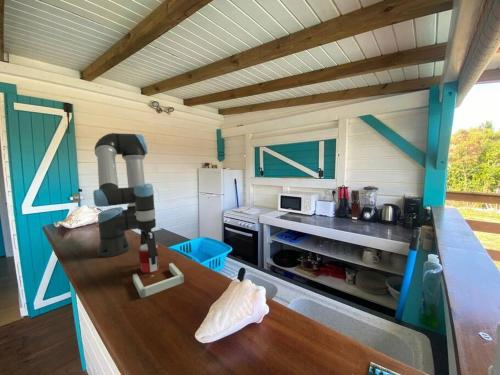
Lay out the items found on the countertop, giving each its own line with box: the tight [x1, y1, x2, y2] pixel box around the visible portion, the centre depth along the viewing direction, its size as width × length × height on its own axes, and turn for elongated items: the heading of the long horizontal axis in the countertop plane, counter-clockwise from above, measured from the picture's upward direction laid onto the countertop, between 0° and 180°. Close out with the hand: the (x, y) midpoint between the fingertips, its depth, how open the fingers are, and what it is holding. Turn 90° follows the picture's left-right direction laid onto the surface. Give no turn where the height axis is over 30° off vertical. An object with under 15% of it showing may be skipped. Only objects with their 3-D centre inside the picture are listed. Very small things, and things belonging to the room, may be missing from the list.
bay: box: [132, 262, 185, 299], centre depth 88 cm, size 14×16×3 cm
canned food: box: [138, 243, 160, 274], centre depth 98 cm, size 8×8×11 cm
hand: (149, 265), depth 99 cm, fingers open, 12 cm apart
